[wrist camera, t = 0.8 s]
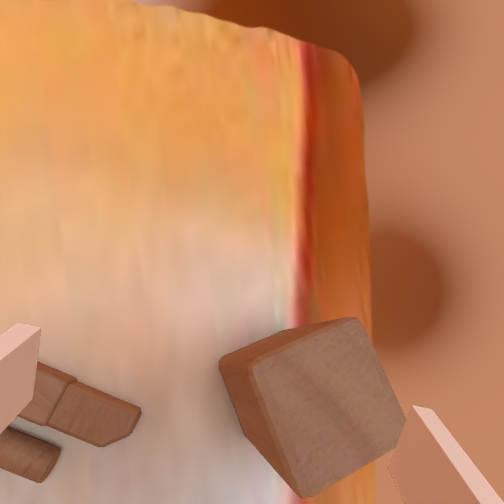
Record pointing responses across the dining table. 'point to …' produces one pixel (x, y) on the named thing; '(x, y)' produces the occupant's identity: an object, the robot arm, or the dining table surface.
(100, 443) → the wooden block set
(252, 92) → the dining table surface
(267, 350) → the block
